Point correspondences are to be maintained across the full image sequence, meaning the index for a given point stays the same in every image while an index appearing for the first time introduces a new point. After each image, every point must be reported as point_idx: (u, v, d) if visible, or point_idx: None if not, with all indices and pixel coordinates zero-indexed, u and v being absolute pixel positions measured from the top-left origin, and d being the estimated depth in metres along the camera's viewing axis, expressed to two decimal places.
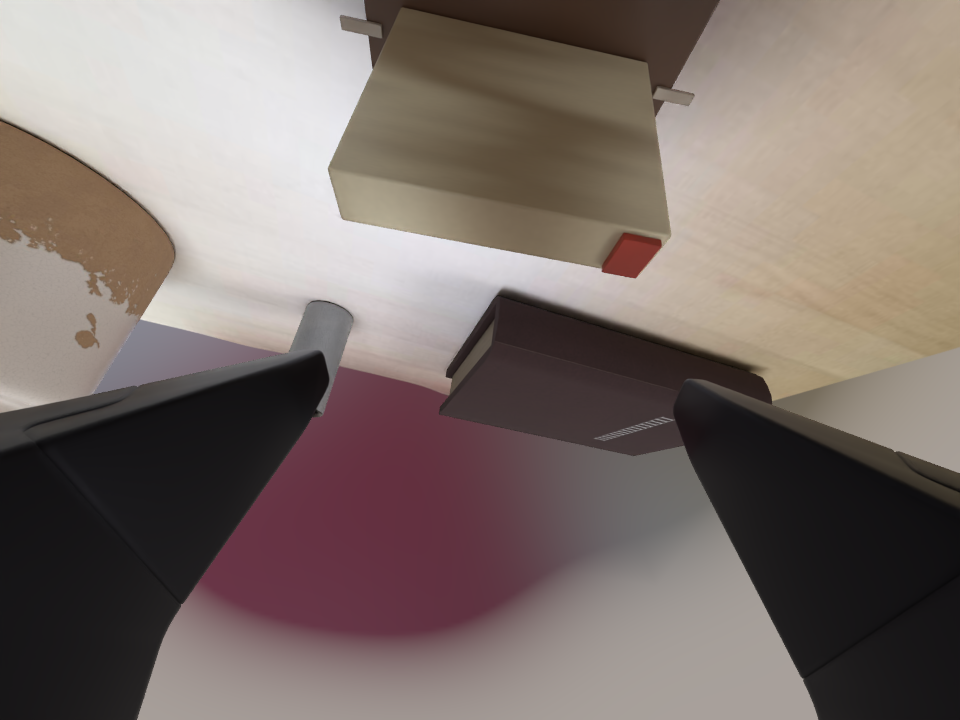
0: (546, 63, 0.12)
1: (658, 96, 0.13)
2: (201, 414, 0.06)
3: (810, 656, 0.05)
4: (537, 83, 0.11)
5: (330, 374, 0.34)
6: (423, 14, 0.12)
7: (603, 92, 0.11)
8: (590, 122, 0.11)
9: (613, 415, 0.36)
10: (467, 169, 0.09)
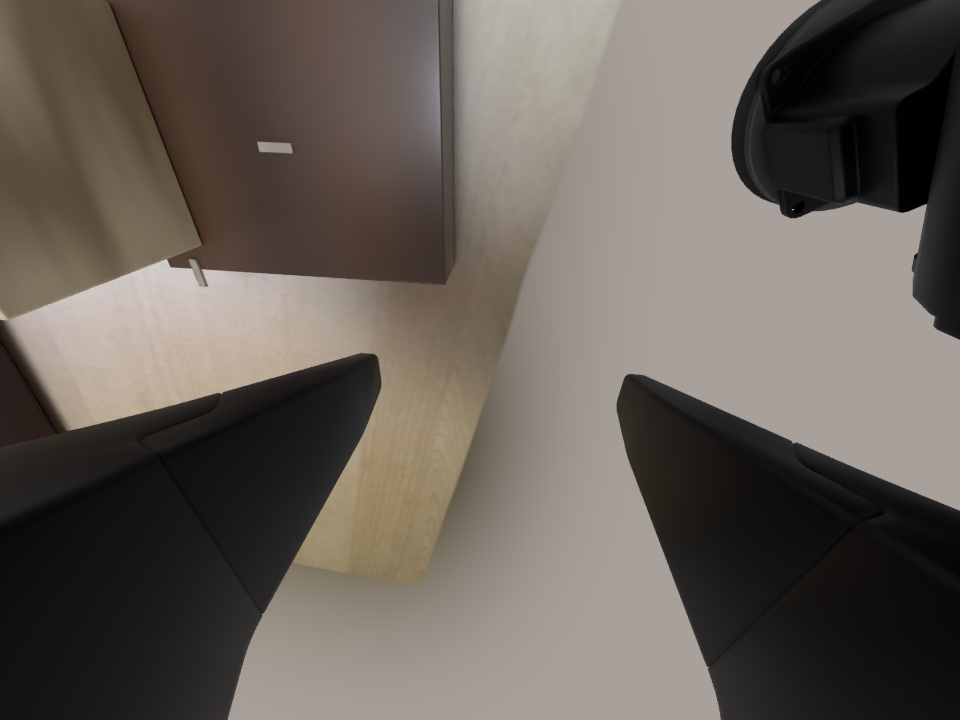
0: (140, 165, 0.14)
1: (193, 263, 0.18)
2: (285, 421, 0.06)
3: (712, 645, 0.05)
4: (109, 162, 0.13)
5: None
6: (115, 30, 0.13)
7: (142, 220, 0.14)
8: (97, 218, 0.13)
9: None
10: None
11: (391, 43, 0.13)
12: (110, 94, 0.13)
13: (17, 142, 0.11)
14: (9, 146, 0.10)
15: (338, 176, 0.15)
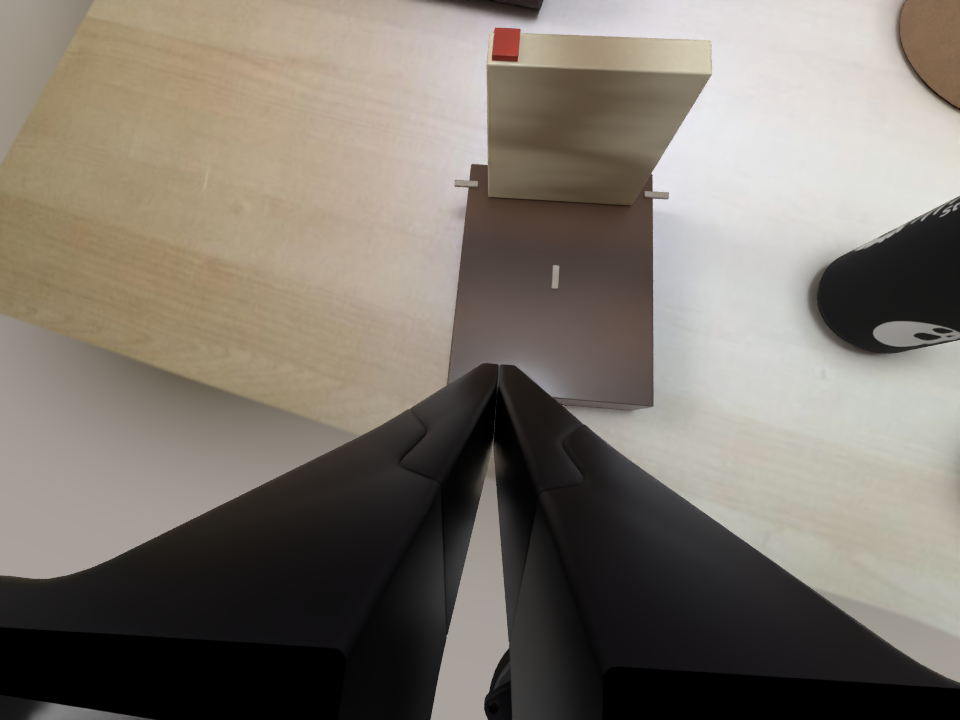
0: (551, 183, 0.20)
1: (474, 183, 0.22)
2: (475, 438, 0.06)
3: (509, 621, 0.06)
4: (558, 168, 0.19)
5: None
6: (619, 202, 0.21)
7: (518, 169, 0.19)
8: (530, 146, 0.18)
9: None
10: (617, 92, 0.15)
11: (612, 371, 0.19)
12: (592, 186, 0.20)
13: (584, 130, 0.17)
14: (583, 125, 0.16)
15: (535, 316, 0.20)
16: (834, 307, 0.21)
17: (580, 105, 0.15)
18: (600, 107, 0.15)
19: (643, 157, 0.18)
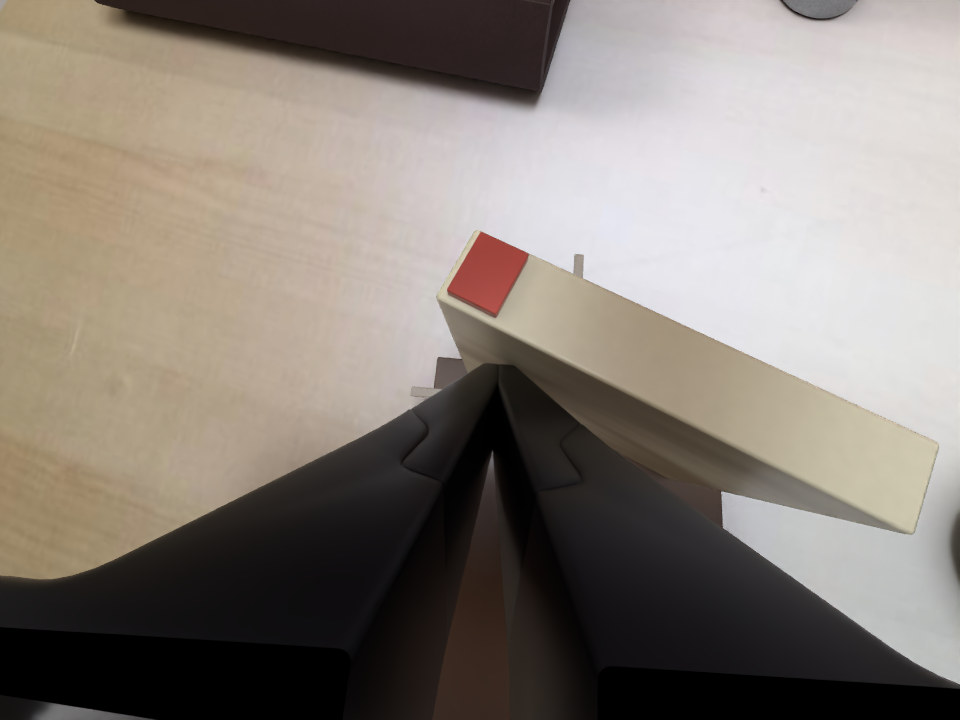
0: None
1: None
2: (477, 439, 0.06)
3: (507, 621, 0.06)
4: None
5: None
6: (651, 469, 0.13)
7: None
8: None
9: None
10: (683, 435, 0.07)
11: None
12: (613, 444, 0.12)
13: (610, 420, 0.09)
14: (610, 416, 0.09)
15: None
16: None
17: (608, 406, 0.08)
18: (645, 425, 0.08)
19: (705, 479, 0.10)
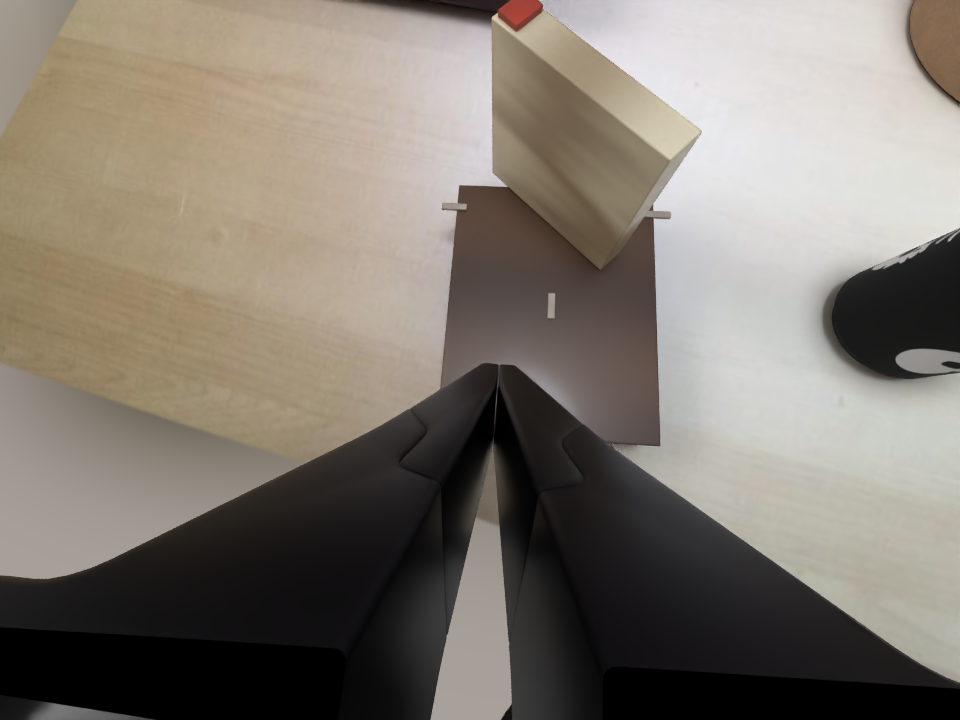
0: (538, 194, 0.19)
1: (462, 205, 0.21)
2: (475, 439, 0.06)
3: (509, 621, 0.06)
4: (543, 180, 0.18)
5: None
6: (590, 259, 0.19)
7: (514, 158, 0.18)
8: (522, 138, 0.17)
9: None
10: (590, 124, 0.13)
11: (615, 407, 0.18)
12: (569, 222, 0.19)
13: (563, 151, 0.15)
14: (563, 145, 0.15)
15: (531, 349, 0.19)
16: (851, 331, 0.20)
17: (561, 118, 0.14)
18: (576, 132, 0.14)
19: (610, 220, 0.16)
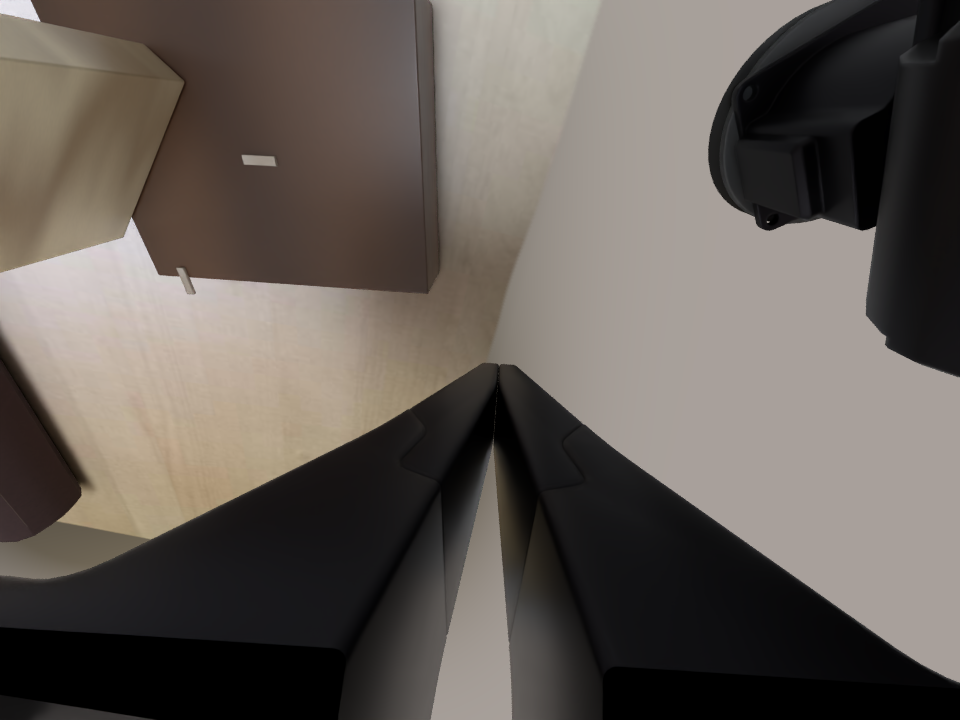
0: (114, 187, 0.15)
1: (180, 271, 0.18)
2: (476, 439, 0.06)
3: (509, 621, 0.06)
4: (86, 187, 0.14)
5: None
6: (174, 99, 0.14)
7: (81, 225, 0.15)
8: (38, 226, 0.13)
9: None
10: None
11: (370, 62, 0.13)
12: (130, 141, 0.14)
13: (13, 181, 0.11)
14: (3, 184, 0.11)
15: (321, 188, 0.16)
16: None
17: None
18: None
19: (82, 94, 0.11)
